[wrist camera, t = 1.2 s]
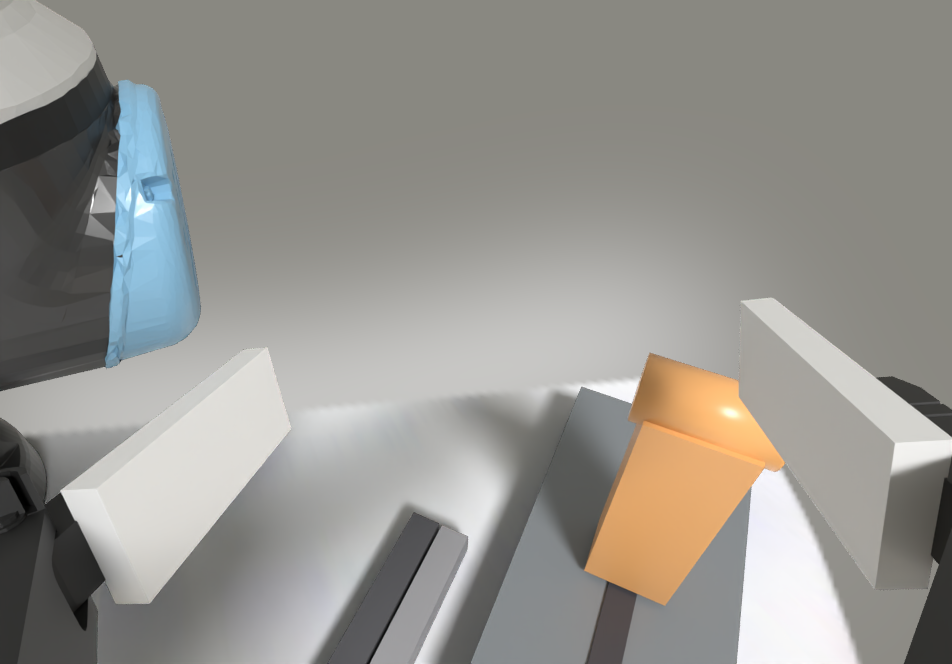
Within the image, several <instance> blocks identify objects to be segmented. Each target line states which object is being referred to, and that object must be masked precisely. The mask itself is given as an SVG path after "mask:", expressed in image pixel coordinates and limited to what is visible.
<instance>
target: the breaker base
mask: <svg viewBox="0 0 952 664" xmlns="http://www.w3.org/2000/svg"><path fill="white" fill-rule="evenodd" d="M631 406H632V404H631V403H628V402H625V401H622V400H619V399H616V398H613V397H610V396H607V395H605V394H602V393H599V392H596V391H593V390H590V389H587V388H584V387H581V389H580V391H579V394H578V396H577V399H576V401H575V404H574V406H573V409H572V411H571V414H570V416H569V419H568V421H567V424H566V426H565V429H564V431H563V434H562V436H561V439H560V441H559V444H558V446H557V449H556V451H555V454H554V456H553V459H552V461H551V464H550V466H549V469H548V471H547V474H546V476H545V479H544V481H543V484H542V486H541V489H540V491H539V494H538V496H537V499H536V501H535V504H534V506H533V509H532V511H531V514H530V516H529V519H528V521H527V524H526V526H525V528H524V531H523V533H522V536H521V538H520V541H519V543H518V546H517V548H516V551H515V553H514V556H513V558H512V561H511V563H510V566H509V568H508V571H507V573H506V576H505V578H504V581H503V583H502V586H501V588H500V591H499V593H498V596H497V598H496V601H495V603H494V606H493V608H492V611H491V613H490V616H489V618H488V621H487V623H486V626H485V628H484V631H483V633H482V636H481V638H480V641H479V643H478V646H477V648H476V651H475V653H474V656H473V658H472V661H471V663H470V664H737V652H738V641H739V629H740V617H741V605H742V593H743V581H744V569H745V557H746V546H747V534H748V522H749V510H750V498H751V487H750V489H749V490H748V492H747V493H746V494H745V496H744V497H743V498H742V500H741V501H740V503H739V504H738V505H737V507H736V508H735V510H734V511H733V512H732V514H731V515H730V516H729V518H728V519H727V521H726V522H725V523H724V525H723V526H722V528H721V529H720V530H719V532H718V533H717V534H716V536H715V537H714V539H713V540H712V541H711V543H710V544H709V546H708V547H707V548H706V550H705V551H704V553H703V554H702V555H701V557H700V558H699V559H698V561H697V562H696V564H695V565H694V566H693V568H692V569H691V571H690V572H689V573H688V575H687V576H686V577H685V579H684V580H683V582H682V583H681V584H680V586H679V587H678V589H677V590H676V591H675V593H674V594H673V595H672V597H671V598H670V600H669V601H668V602H667V604H666V605H665V606H664V605H662V604H659V603H657V602H655V601H653V600H650V599H648V598H646V597H643V596H641V595H639V594H636V593H634V592H632V591H630V590H627V589H625V588H623V587H620V586H618V585H616V584H613V583H611V582H609V581H607V580H604V579H602V578H600V577H597V576H595V575H593V574H590V573H588V572H586V571H584V569H585V566H586V562H587V559H588V556H589V552H590V549H591V546H592V542H593V539H594V536H595V532H596V529H597V526H598V522H599V519H600V516H601V514H602V511H603V509H604V506H605V504H606V501H607V498H608V496H609V493H610V491H611V488H612V485H613V483H614V480H615V478H616V475H617V473H618V470H619V467H620V465H621V462H622V460H623V457H624V455H625V452H626V449H627V447H628V444H629V442H630V439H631V437H632V434H633V431H634V429H635V426H636V423H633V422H630V421H628V416H629V412H630V409H631Z"/></svg>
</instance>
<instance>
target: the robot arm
mask: <svg viewBox="0 0 952 664" xmlns="http://www.w3.org/2000/svg"><path fill="white" fill-rule="evenodd" d="M740 308H741V309H740V350H739V355H740V356H739V393H738V396H739V398H740V399H741V401H742V402H743V404H744V405H745V406H746V408H747V409H748V411H749V412H750V413H751V415H752V416H753V418H754V419H755V421H756V422H757V423H758V425H759V426H760V428H761V429H762V431H763V432H764V433H765V435H766V436H767V438H768V439H769V440H770V442H771V443H772V445H773V446H774V448H775V449H776V450H777V452H778V453H779V455H780V456H781V458H782V459H783V460H784V462H785V463H786V465H787V466H788V467H789V469H790V470H791V472H792V473H793V475H794V476H795V477H796V479H797V480H798V482H799V483H800V485H801V486H802V487H803V489H804V490H805V492H806V493H807V494H808V496H809V497H810V499H811V500H812V501H813V503H814V504H815V506H816V507H817V509H818V510H819V512H820V513H821V514H822V516H823V517H824V519H825V520H826V521H827V523H828V524H829V526H830V527H831V529H832V530H833V531H834V533H835V534H836V536H837V537H838V538H839V540H840V541H841V543H842V544H843V545H844V547H845V548H846V550H847V551H848V553H849V554H850V556H851V557H852V558H853V560H854V561H855V562H856V564H857V565H858V567H859V568H860V570H861V571H862V573H863V574H864V575H865V577H866V578H867V579H868V581H869V582H870V584H871V585H872V587H873V588H874V590H894V589H895V590H897V589H928V584H929V578H930V573H931V567H932V562H933V558H934V559H935V561H936V562H937V563H938V564H939V566H938V569H937V572H936V575H935V577H934V580H933V583H932V586H931V589H930V592H929V595H928V597H927V600H926V603H925V606H924V609H923V611H922V614H921V617H920V620H919V623H918V625H917V628H916V631H915V634H914V637H913V640H912V642H911V645H910V648H909V651H908V654H907V656H906V659H905V662H904V664H952V410H951V409H950V408H948V407H947V406H946V405H944V404H940V401H939V400H937V399H936V398H934V397H933V396H931V395H930V394H929V393H927V392H926V391H925V390H923V389H922V388H920V387H917V386H915V385H913V384H910V383H907V382H905V381H903V380H900V379H897V378H895V377H879V378H875V377H874V376H873V375H871V374H870V373H869V372H867V371H866V370H865V369H864V368H862V367H861V366H860V365H858V364H857V363H856V362H855V361H853V360H852V359H851V358H849V357H848V356H847V355H845V354H844V353H843V352H842V351H840V350H839V349H838V348H837V347H835V346H834V345H833V344H831V343H830V342H829V341H828V340H826V339H825V338H824V337H822V336H821V335H820V334H819V333H817V332H816V331H815V330H813V329H812V328H811V327H810V326H808V325H807V324H806V323H805V322H803V321H802V320H801V319H799V318H798V317H797V316H795V315H794V314H793V313H791V312H790V311H789V310H788V309H787V308H785V307H784V306H783V305H781V304H780V303H779V302H777V301H776V300H775V299H774V298H764V299H753V300H743V301H741V307H740ZM200 310H201V306H200V296H199V288H198V281H197V274H196V268H195V262H194V257H193V252H192V245H191V240H190V234H189V230H188V224H187V218H186V213H185V209H184V203H183V198H182V193H181V189H180V183H179V178H178V173H177V169H176V164H175V159H174V154H173V150H172V145H171V141H170V136H169V132H168V128H167V124H166V121H165V117H164V115H163V112H162V108H161V104H160V98H159V96H158V94H157V93H156V91H155V90H154V89H152V88H151V87H149V86H147V85H143V84H139V85H136V84H134V83H132V82H131V81H129V80H123V81H119V82H118V85H116V86H113V85H112V84H111V83H110V81H109V80H108V78H107V76H106V74H105V71H104V69H103V67H102V64H101V62H100V60H99V57H98V55H97V53H96V50H95V47H94V46H93V44H92V42H91V40H90V38H89V37H88V35H87V34H86V32H85V31H84V30H83V29H82V28H80V27H78V26H77V25H75V24H74V23H72V22H70V21H69V20H67V19H65V18H64V17H62V16H60V15H59V14H57V13H55V12H54V11H52V10H50V9H49V8H47V7H45V6H44V5H42V4H40V3H39V2H37V1H35V0H0V391H3V390H7V389H11V388H15V387H20V386H24V385H29V384H32V383H37V382H41V381H46V380H50V379H54V378H59V377H63V376H67V375H71V374H76V373H79V372H84V371H88V370H93V369H97V368H101V367H106V368H111V367H113V366H117V365H118V364H119V363H120V362H121V360H124V359H127V358H131V357H134V356H138V355H141V354H144V353H148V352H151V351H154V350H158V349H161V348H165V347H168V346H172V345H175V344H177V343H178V342H179V341H182V340H183V339H185V338H186V337H187V336H188V335H189V334H190V333H191V332H192V330H193V329H194V328H195V327H196V325H197V323H198V320H199V317H200ZM291 429H292V428H291V425H290V421H289V418H288V415H287V411H286V408H285V405H284V401H283V398H282V395H281V391H280V388H279V385H278V381H277V378H276V375H275V371H274V368H273V365H272V362H271V358H270V355H269V352H268V348H267V347H264V348H253V349H243V350H242V351H241V352H239V353H238V354H237V355H236V356H234V357H233V358H232V359H230V360H229V361H228V362H226V363H225V364H224V365H223V366H221V367H220V368H219V369H217V370H216V371H215V372H213V373H212V374H211V375H210V376H208V377H207V378H206V379H205V380H203V381H202V382H200V383H199V384H198V385H197V386H195V387H194V388H193V389H192V390H190V391H189V392H187V393H186V394H185V395H184V396H182V397H181V398H180V399H178V400H177V401H176V402H175V403H174V404H172V405H171V406H169V407H168V408H167V409H166V410H164V411H163V412H162V413H160V414H159V415H158V416H156V417H155V418H154V419H152V420H151V421H150V422H149V423H147V424H146V425H145V426H143V427H142V428H141V429H139V430H138V431H137V432H136V433H134V434H133V435H132V436H130V437H129V438H128V439H126V440H125V441H124V442H123V443H121V444H120V445H119V446H117V447H116V448H115V449H113V450H112V451H111V452H110V453H108V454H107V455H106V456H104V457H103V458H102V459H101V460H99V461H98V462H97V463H95V464H94V465H93V466H91V467H90V468H89V469H88V470H86V471H85V472H84V473H82V474H81V475H80V476H78V477H77V478H76V479H75V480H73V481H72V482H71V483H69V484H68V485H67V486H65V487H64V488H63V489H62V490H60V491H61V493H60V494H58V495H57V496H56V497H55V498H53V499H52V500H51V501H49V502H48V503H47V504H45V505H44V503H43V502H44V497H45V491H46V473H45V468H44V464H43V462H42V459H41V457H40V456H39V454H38V453H37V451H36V450H35V449H34V448H33V446H32V445H31V444H30V443H29V442H28V441H27V440H26V439H25V438H24V437H23V436H22V435H21V433H20V432H19V431H18V430H17V429H16V428H14V427H13V426H12V425H11V424H9V423H8V422H6V421H5V420H3V419H2V418H0V664H97V620H98V611H97V608H96V606H95V604H94V602H93V600H92V598H91V596H90V595H91V594H92V593H93V592H94V591H95V590H96V589H97V588H98V587H99V586H100V585H101V584H102V583H103V582H104V581H105V583H106V585H107V587H108V589H109V591H110V593H111V595H112V598H113V600H114V602H115V604H150V603H151V601H152V600H153V599H154V598H155V596H156V595H157V594H158V593H159V592H160V590H161V589H162V588H163V587H164V585H165V584H166V583H167V582H168V580H169V579H170V578H171V577H172V576H173V574H174V573H175V572H176V571H177V569H178V568H179V567H180V566H181V564H182V563H183V562H184V561H185V559H186V558H187V557H188V556H189V555H190V553H191V552H192V551H193V550H194V548H195V547H196V546H197V545H198V543H199V542H200V541H201V540H202V539H203V537H204V536H205V535H206V534H207V532H208V531H209V530H210V529H211V527H212V526H213V525H214V524H215V522H216V521H217V520H218V519H219V518H220V516H221V515H222V514H223V513H224V511H225V510H226V509H227V508H228V506H229V505H230V504H231V503H232V502H233V500H234V499H235V498H236V497H237V495H238V494H239V493H240V492H241V490H242V489H243V488H244V487H245V485H246V484H247V483H248V482H249V481H250V479H251V478H252V477H253V476H254V474H255V473H256V472H257V471H258V469H259V468H260V467H261V466H262V465H263V463H264V462H265V461H266V460H267V458H268V457H269V456H270V455H271V453H272V452H273V451H274V450H275V449H276V447H277V446H278V445H279V444H280V442H281V441H282V440H283V439H284V437H285V436H286V435H287V434H288V432H289V431H290V430H291Z"/></svg>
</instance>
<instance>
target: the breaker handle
mask: <svg viewBox="0 0 952 664" xmlns="http://www.w3.org/2000/svg"><path fill="white" fill-rule="evenodd" d="M738 393H739V380H736V379H732V378H729V377H726V376H723V375H719V374H716V373H713V372H710V371H706V370H704V369H700V368H697V367H694V366H691V365H687V364H684V363H681V362H678V361H674V360H671V359H668V358H665V357H662V356H659V355H656V354H652V353H650V354H649V355H648V358H647V361H646V363H645V366H644V369H643V372H642V375H641V378H640V381H639V384H638V387H637V390H636V393H635V396H634V399H633V402H632V406H631V409H630V412H629V416H628V421H630V422H633V423H636V426H635V429H634V431H633V434H632V437H631V439H630V442H629V444H628V447H627V449H626V452H625V455H624V457H623V460H622V462H621V465H620V467H619V470H618V473H617V475H616V478H615V480H614V483H613V485H612V488H611V491H610V493H609V496H608V498H607V501H606V504H605V506H604V509H603V511H602V514H601V516H600V519H599V522H598V526H597V529H596V532H595V536H594V539H593V542H592V546H591V549H590V552H589V556H588V559H587V562H586V566H585V569H584V571H586V572H588V573H590V574H593V575H595V576H597V577H600V578H602V579H604V580H607V581H609V582H611V583H613V584H616V585H618V586H620V587H623V588H625V589H627V590H630V591H632V592H634V593H636V594H639V595H641V596H643V597H646V598H648V599H650V600H653V601H655V602H657V603H659V604H662V605H664V606H665V605H666V604H667V602H668V601H669V600H670V598H671V597H672V595H673V594H674V593H675V591H676V590H677V589H678V587H679V586H680V584H681V583H682V582H683V580H684V579H685V577H686V576H687V575H688V573H689V572H690V571H691V569H692V568H693V566H694V565H695V564H696V562H697V561H698V559H699V558H700V557H701V555H702V554H703V553H704V551H705V550H706V548H707V547H708V546H709V544H710V543H711V541H712V540H713V539H714V537H715V536H716V534H717V533H718V532H719V530H720V529H721V528H722V526H723V525H724V523H725V522H726V521H727V519H728V518H729V516H730V515H731V514H732V512H733V511H734V510H735V508H736V507H737V505H738V504H739V503H740V501H741V500H742V498H743V497H744V496H745V494H746V493H747V492H748V490H749V489H750V487H751V486H752V485H753V483H754V482H755V480H756V479H757V478H758V476H759V475H760V474H761V472H762V471H763V469H764V468H765V469H768V470H770V471H773V472H776V471H778V470H780V469H781V468H782V467H783V465H784V464H785V462H784V460H783V459H782V458H781V456H780V455H779V453H778V452H777V450H776V449H775V448H774V446H773V445H772V443H771V442H770V440H769V439H768V438H767V436H766V435H765V433H764V432H763V431H762V429H761V428H760V426H759V425H758V423H757V422H756V421H755V419H754V418H753V416H752V415H751V413H750V412H749V411H748V409H747V408H746V406H745V405H744V404H743V402H742V401H741V399H740V398H739V396H738Z"/></svg>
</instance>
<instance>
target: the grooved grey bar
mask: <svg viewBox="0 0 952 664" xmlns="http://www.w3.org/2000/svg"><path fill="white" fill-rule="evenodd" d="M467 548H468V536H466V535H464V534H462V533H459V532H457V531H455V530H453V529H450V528H448V527H446V526H444V525H442V526H441V528H440V530H439V523H437V522H435V521H432V520H430V519H428V518H426V517H423V516H421V515H419V514H417V513H413V514H412V516H411V518H410V520H409V521H408V523H407V525H406V527H405V528H404V530H403V532H402V534H401V535H400V537H399V539H398V541H397V542H396V544H395V546H394V548H393V549H392V551H391V553H390V555H389V556H388V558H387V560H386V562H385V563H384V565H383V567H382V569H381V570H380V572H379V574H378V576H377V577H376V579H375V581H374V583H373V584H372V586H371V588H370V590H369V591H368V593H367V595H366V597H365V598H364V600H363V602H362V604H361V605H360V607H359V609H358V611H357V612H356V614H355V616H354V618H353V619H352V621H351V623H350V625H349V626H348V628H347V630H346V632H345V633H344V635H343V637H342V639H341V640H340V642H339V644H338V646H337V647H336V649H335V651H334V653H333V654H332V656H331V658H330V660H329V661H328V663H327V664H414V662H415V660H416V658H417V656H418V654H419V652H420V650H421V647H422V645H423V643H424V641H425V639H426V637H427V635H428V633H429V630H430V628H431V626H432V624H433V622H434V620H435V618H436V615H437V613H438V611H439V609H440V607H441V605H442V603H443V600H444V598H445V596H446V594H447V592H448V590H449V588H450V586H451V583H452V581H453V579H454V577H455V575H456V573H457V571H458V568H459V566H460V564H461V562H462V560H463V558H464V556H465V553H466V551H467Z"/></svg>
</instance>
